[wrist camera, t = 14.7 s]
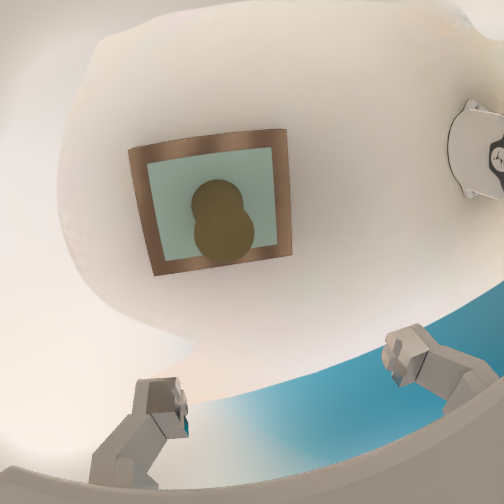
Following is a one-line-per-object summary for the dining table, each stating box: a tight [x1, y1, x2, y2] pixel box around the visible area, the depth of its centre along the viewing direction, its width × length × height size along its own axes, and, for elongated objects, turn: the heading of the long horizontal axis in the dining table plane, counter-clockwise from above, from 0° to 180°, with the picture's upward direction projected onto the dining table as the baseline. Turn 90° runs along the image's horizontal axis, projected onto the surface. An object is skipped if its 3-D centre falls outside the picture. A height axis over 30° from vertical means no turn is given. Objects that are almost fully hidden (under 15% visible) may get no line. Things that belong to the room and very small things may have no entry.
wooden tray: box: [128, 129, 292, 276], centre depth 35 cm, size 18×16×3 cm
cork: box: [191, 179, 255, 264], centre depth 28 cm, size 6×6×11 cm
